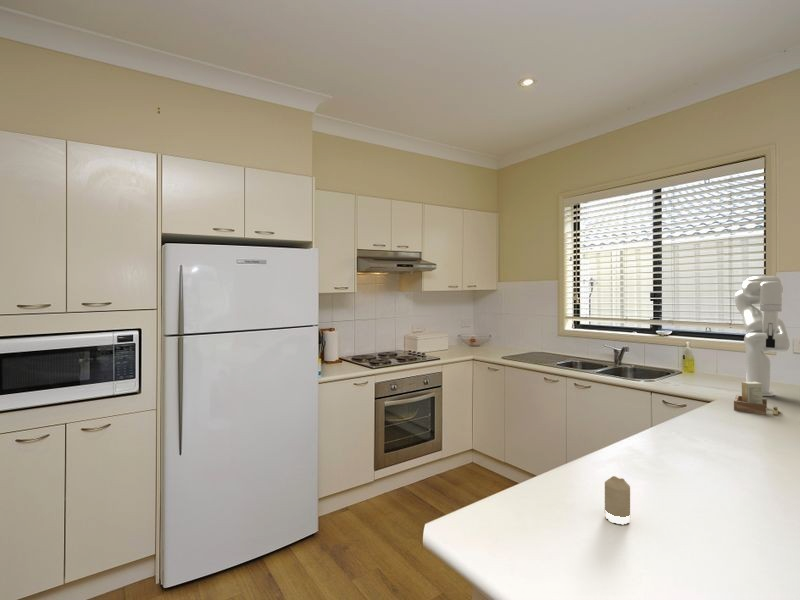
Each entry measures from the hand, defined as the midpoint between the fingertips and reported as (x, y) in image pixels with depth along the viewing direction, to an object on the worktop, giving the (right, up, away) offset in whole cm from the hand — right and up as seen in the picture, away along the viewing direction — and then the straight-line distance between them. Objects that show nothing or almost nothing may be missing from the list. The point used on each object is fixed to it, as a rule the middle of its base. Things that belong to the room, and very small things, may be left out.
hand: (770, 347), depth 197 cm
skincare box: (-13, -28, -5) cm, 31 cm away
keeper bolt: (-7, -27, -11) cm, 30 cm away
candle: (-120, -32, -94) cm, 156 cm away
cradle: (-13, -27, -5) cm, 31 cm away
